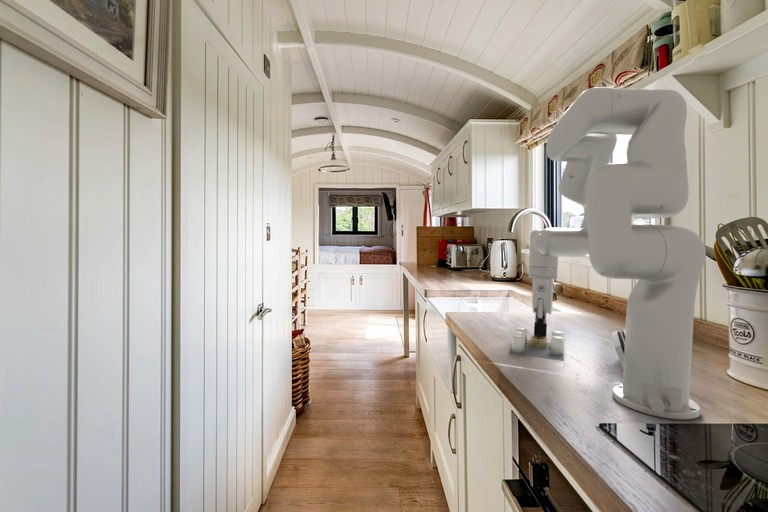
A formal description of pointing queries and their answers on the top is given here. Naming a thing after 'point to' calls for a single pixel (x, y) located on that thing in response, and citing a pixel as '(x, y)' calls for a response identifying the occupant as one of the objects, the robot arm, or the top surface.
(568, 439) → the top surface
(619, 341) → the hinge
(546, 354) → the mat
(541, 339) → the nut
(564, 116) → the robot arm
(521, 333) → the spacers
